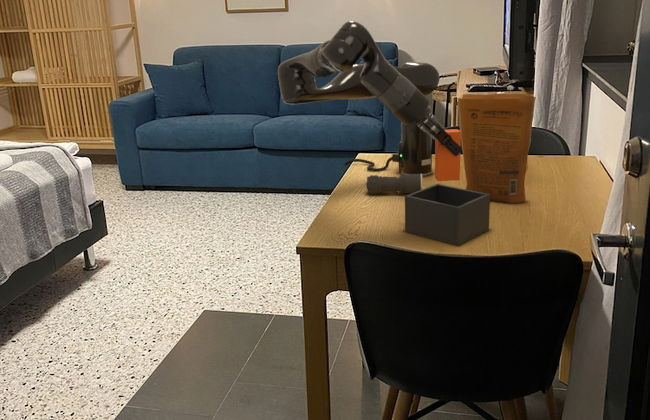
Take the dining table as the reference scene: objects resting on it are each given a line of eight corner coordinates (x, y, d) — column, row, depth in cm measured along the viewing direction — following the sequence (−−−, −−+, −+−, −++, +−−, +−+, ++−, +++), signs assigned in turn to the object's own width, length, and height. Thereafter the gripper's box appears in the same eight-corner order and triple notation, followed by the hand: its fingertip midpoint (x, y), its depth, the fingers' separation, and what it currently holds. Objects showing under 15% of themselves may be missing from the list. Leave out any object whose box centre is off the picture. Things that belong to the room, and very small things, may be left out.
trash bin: (404, 231, 154) (404, 196, 151) (436, 217, 162) (437, 183, 159) (458, 245, 144) (458, 208, 141) (489, 229, 152) (490, 194, 150)
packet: (437, 181, 148) (438, 132, 144) (434, 177, 150) (435, 130, 147) (459, 180, 148) (461, 131, 144) (456, 176, 151) (457, 129, 147)
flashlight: (365, 196, 181) (365, 177, 179) (367, 191, 186) (366, 172, 184) (422, 196, 179) (422, 176, 177) (422, 190, 184) (422, 171, 182)
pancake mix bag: (526, 207, 166) (531, 96, 157) (454, 198, 176) (456, 92, 167) (533, 200, 171) (539, 91, 163) (463, 191, 181) (465, 89, 173)
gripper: (385, 106, 150) (438, 155, 155) (395, 117, 137) (452, 171, 141) (408, 81, 149) (461, 132, 153) (421, 90, 136) (478, 145, 140)
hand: (456, 150), depth 147 cm, fingers closed on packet, 3 cm apart
